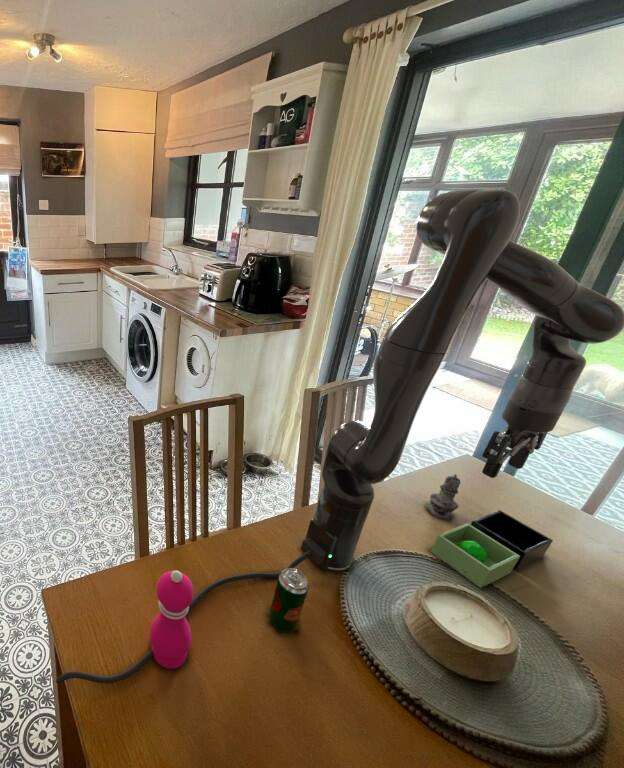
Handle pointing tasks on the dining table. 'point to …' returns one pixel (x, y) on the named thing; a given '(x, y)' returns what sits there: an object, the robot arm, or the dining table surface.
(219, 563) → the dining table surface
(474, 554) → the polyhedron
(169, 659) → the pepper mill
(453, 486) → the grey figurine
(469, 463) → the dining table surface
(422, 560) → the dining table surface
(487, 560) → the green bin
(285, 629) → the soda can
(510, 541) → the charcoal bin
